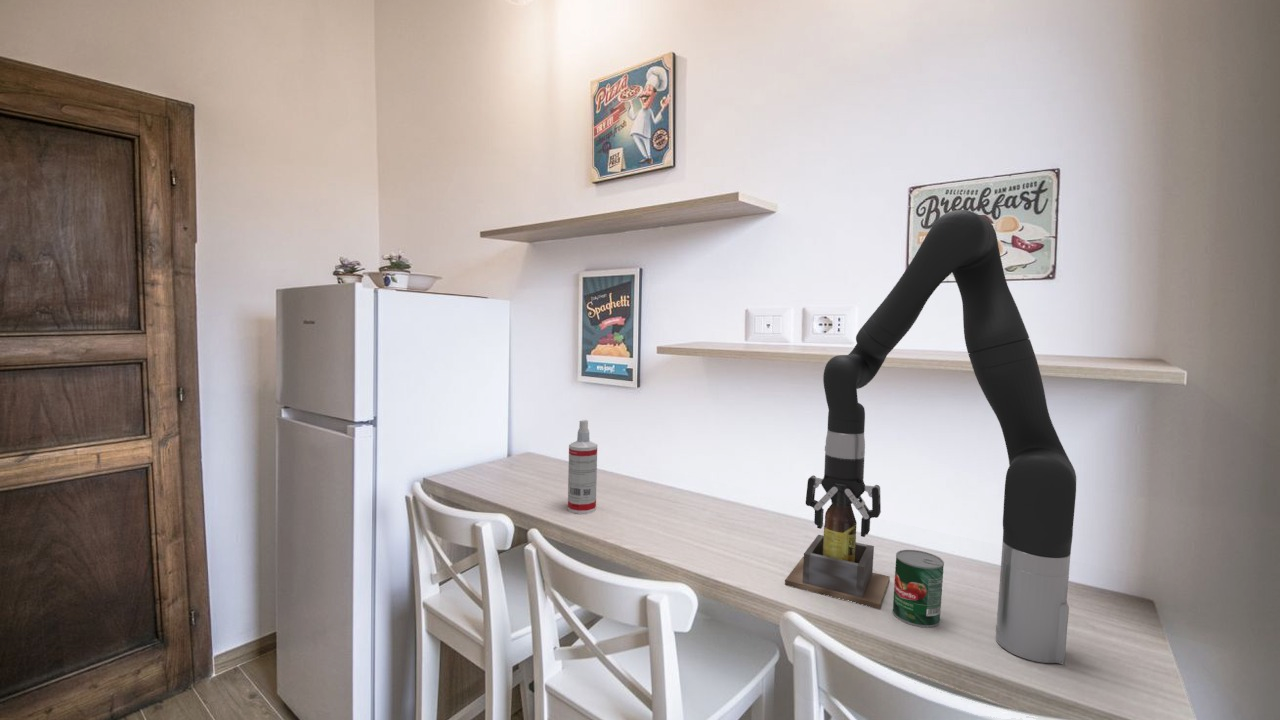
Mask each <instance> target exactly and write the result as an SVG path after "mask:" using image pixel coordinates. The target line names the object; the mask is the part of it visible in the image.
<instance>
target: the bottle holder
mask: <svg viewBox="0 0 1280 720" xmlns="http://www.w3.org/2000/svg"><path fill="white" fill-rule="evenodd" d="M823 539H824V534H823V535H822V534H817V536H816V537H815V539H813V541H812V542H811V544H810V545H809V546H808V547H807V549H806V550H805V552H803V556H802V557H801V559H799V561H798V562H797V563H796V565H795V566H794V567H793V569H792V570H791V572H790V573H789V574H788V575H787V577H786V578H785V580H784V585H785V586H788V587H791V586H793V587H792V588H795V587H797V588H796V589H799V588H800V589H799V590H803V589H804V591H807V590H808V591H807V592H812V593H815V594H818V593H819V595H822V594H825V595H824V596H826V595H829V596H828V597H830V596H832V597H831V598H834V597H836V598H835V599H838V598H840V599H839V600H842V599H844V600H843V601H846V600H849V601H852V602H851V603H853V602H856V603H855V604H857V603H859V604H858V605H861V604H863V605H862V606H865V605H867V606H866V607H869V606H870V608H873V609H877V610H881V607H882V604H883V602H884V599H885V596H886V592H887V589H888V587H889V584H890V581H891V576H889V575H885V574H881V573H877V572H873V570H874V569H873V568H874V567H873V566H874V554H875V553H874V551H875V545H871V544H866V543H860V542H857V541H856V546H855V563H854V562H849V561H845V560H840V559H836V558H832V557H827V556H823ZM849 601H848V602H849Z"/></svg>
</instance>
